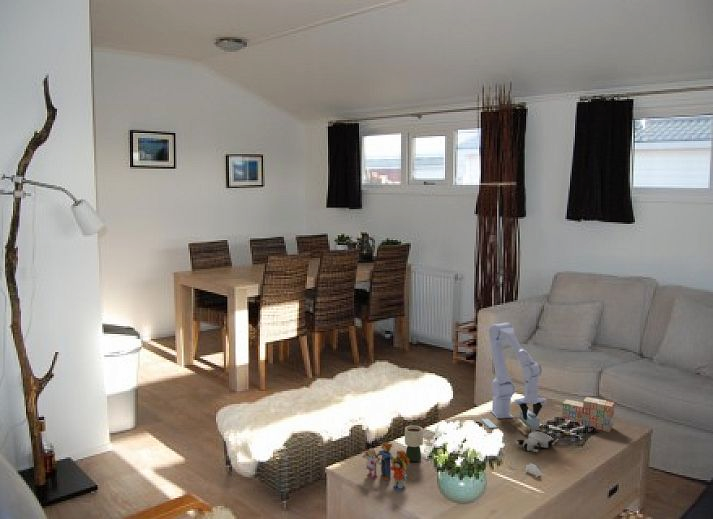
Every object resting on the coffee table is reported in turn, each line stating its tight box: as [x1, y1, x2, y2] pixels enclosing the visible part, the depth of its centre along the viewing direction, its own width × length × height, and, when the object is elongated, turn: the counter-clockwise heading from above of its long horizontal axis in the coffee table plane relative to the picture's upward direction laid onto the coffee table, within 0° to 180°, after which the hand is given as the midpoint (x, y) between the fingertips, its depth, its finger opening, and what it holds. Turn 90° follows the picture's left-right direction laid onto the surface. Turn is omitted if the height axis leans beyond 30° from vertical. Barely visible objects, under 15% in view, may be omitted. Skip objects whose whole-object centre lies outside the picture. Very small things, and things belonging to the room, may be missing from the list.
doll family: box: [361, 442, 411, 492], centre depth 235 cm, size 21×10×13 cm, turn 46°
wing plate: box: [480, 418, 498, 429], centre depth 290 cm, size 10×4×1 cm, turn 12°
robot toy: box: [514, 430, 559, 453], centre depth 266 cm, size 12×4×15 cm
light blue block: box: [519, 409, 541, 430], centre depth 285 cm, size 12×4×6 cm, turn 9°
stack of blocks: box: [561, 396, 615, 433], centre depth 290 cm, size 21×6×12 cm, turn 57°
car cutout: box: [507, 462, 542, 478], centre depth 244 cm, size 15×7×4 cm, turn 42°
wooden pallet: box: [509, 416, 543, 437], centre depth 285 cm, size 16×12×3 cm
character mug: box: [404, 425, 424, 462], centre depth 252 cm, size 11×7×13 cm, turn 34°
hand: (529, 419), depth 285 cm, fingers closed on light blue block, 4 cm apart
